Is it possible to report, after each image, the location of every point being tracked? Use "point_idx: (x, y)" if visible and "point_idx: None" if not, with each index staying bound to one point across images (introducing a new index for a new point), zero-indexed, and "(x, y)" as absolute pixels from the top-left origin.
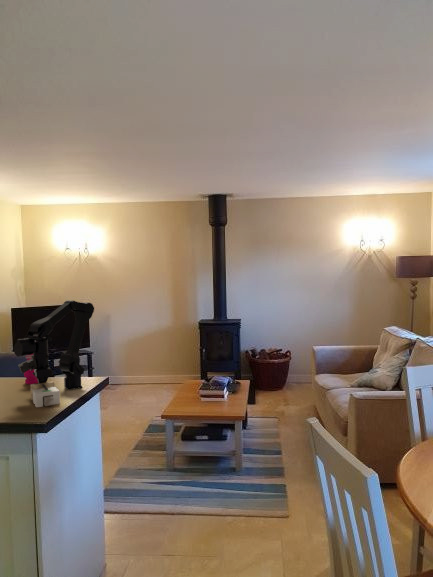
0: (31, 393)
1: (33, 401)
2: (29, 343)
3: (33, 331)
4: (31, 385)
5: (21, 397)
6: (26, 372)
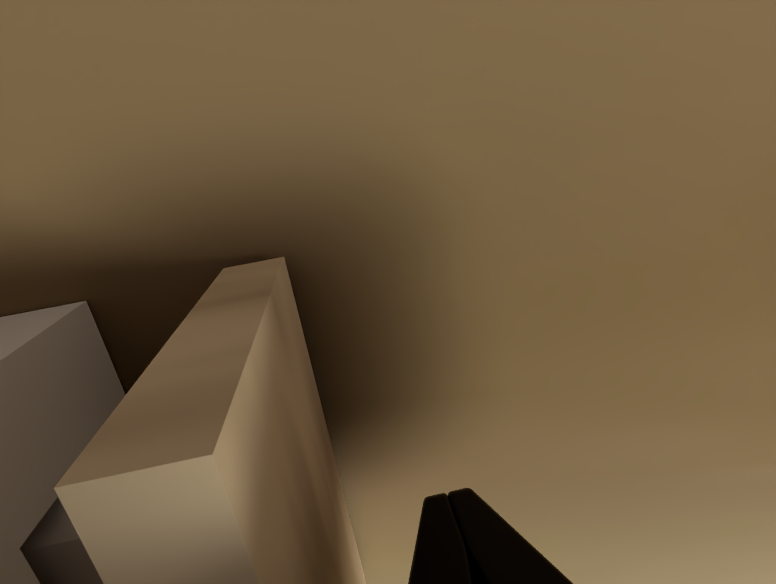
0: (182, 325)
1: (12, 323)
2: None
3: None
4: (68, 497)
5: (605, 49)
6: None
